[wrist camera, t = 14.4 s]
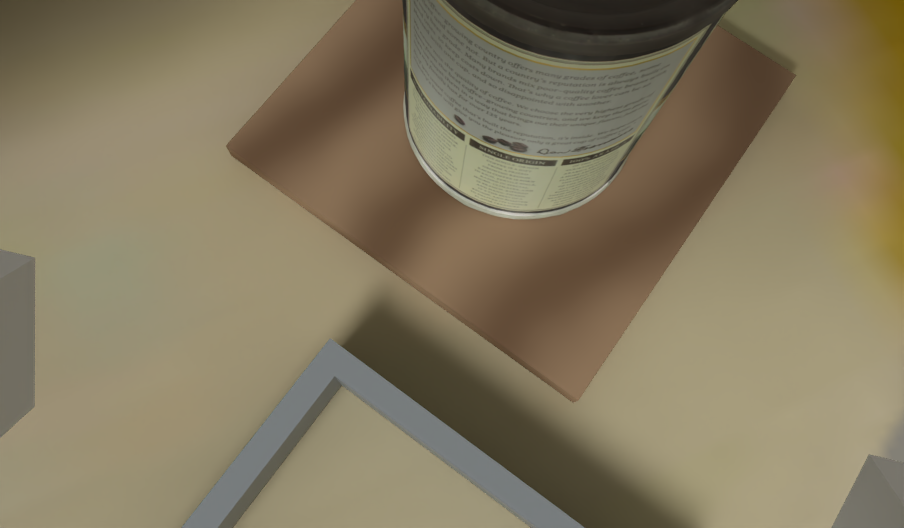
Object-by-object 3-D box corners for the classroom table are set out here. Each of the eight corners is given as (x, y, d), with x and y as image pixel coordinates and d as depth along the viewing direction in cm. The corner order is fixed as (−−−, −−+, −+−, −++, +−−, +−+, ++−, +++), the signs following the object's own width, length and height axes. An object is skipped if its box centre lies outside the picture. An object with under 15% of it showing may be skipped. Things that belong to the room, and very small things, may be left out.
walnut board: (231, 154, 34) (226, 145, 33) (471, -116, 38) (472, -131, 37) (573, 402, 32) (578, 400, 31) (785, 86, 36) (796, 75, 35)
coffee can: (376, 33, 34) (353, -255, 21) (594, -12, 36) (707, -312, 22) (434, 248, 32) (451, 80, 18) (667, 192, 33) (845, -5, 20)
